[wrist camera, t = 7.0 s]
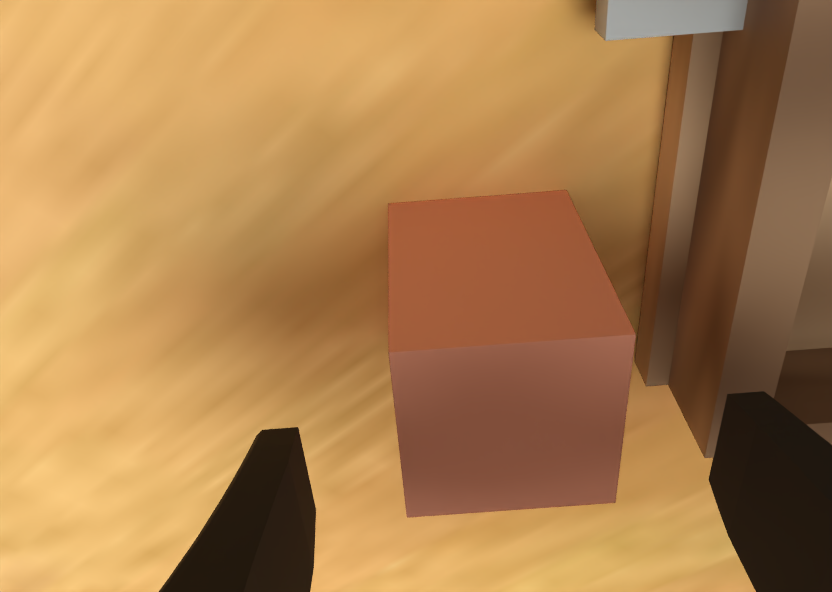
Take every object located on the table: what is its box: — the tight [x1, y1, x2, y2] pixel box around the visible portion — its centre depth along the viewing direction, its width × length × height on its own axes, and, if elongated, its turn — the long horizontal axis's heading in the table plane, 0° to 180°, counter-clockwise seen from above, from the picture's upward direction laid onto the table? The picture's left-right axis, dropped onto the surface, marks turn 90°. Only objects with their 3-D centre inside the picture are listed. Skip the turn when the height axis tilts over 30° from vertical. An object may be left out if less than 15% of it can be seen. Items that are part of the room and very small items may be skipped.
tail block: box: [388, 190, 636, 517], centre depth 15 cm, size 4×4×6 cm
